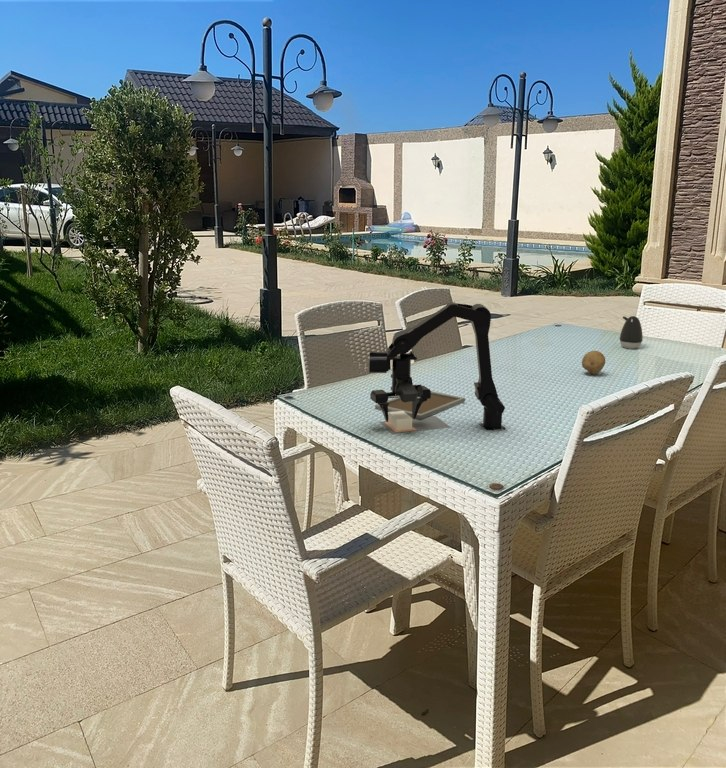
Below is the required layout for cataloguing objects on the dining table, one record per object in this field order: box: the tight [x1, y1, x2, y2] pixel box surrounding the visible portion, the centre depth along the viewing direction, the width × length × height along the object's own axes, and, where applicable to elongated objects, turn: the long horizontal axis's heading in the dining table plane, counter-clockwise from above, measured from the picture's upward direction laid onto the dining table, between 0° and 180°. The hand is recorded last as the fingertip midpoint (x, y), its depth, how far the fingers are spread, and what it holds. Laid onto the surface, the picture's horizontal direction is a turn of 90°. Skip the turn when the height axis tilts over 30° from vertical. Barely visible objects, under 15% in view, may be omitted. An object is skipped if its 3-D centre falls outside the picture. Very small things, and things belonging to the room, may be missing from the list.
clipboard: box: [374, 390, 466, 420], centre depth 252 cm, size 19×2×30 cm
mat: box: [379, 415, 452, 435], centre depth 233 cm, size 12×20×1 cm, turn 109°
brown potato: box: [581, 350, 606, 375], centre depth 295 cm, size 9×9×10 cm
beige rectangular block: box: [388, 411, 412, 430], centre depth 231 cm, size 5×8×4 cm, turn 18°
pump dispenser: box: [619, 315, 644, 350], centre depth 342 cm, size 10×10×15 cm
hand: (400, 420), depth 231 cm, fingers open, 9 cm apart
